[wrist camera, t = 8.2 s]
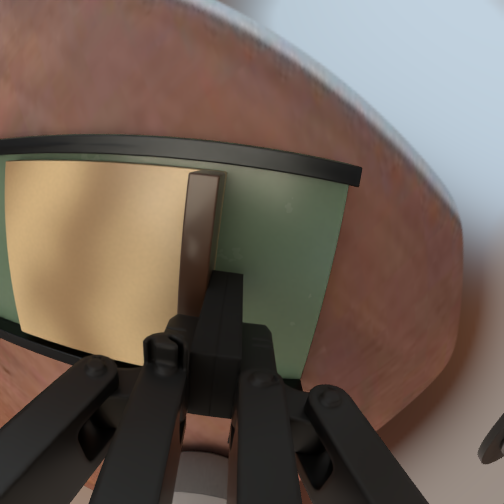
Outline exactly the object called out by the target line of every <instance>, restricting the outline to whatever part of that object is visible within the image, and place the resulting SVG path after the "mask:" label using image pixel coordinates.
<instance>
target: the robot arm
mask: <svg viewBox="0 0 504 504" xmlns="http://www.w3.org/2000/svg"><path fill="white" fill-rule="evenodd" d="M272 341H273V339H272V332H271V331H270V330H269V329H268V327H267V326H266V325H262V324H253V323H245V322H243V274H239V273H232V272H224V271H217V270H212V274H211V277H210V280H209V284H208V287H207V291H206V294H205V298H204V302H203V305H202V309H201V312H200V316H199V317H195V316H188V315H182V314H176V315H175V316H174V317H172V318H171V319H169V322H168V324H167V326H166V328H165V331H164V332H161V333H154V334H152V335H149V336H147V337H146V338H145V339H144V340H143V355H144V364H143V366H140V367H136V368H117V365H116V363H115V362H114V360H112V359H111V358H109V357H107V356H103V355H89V356H85V357H84V358H82V359H80V360H79V361H78V362H76V363H75V364H74V365H73V366H72V367H70V368H69V369H68V370H67V371H66V372H65V373H63V374H62V375H61V376H60V377H59V378H58V379H56V380H55V381H54V382H53V383H52V384H51V385H49V386H48V387H47V388H46V389H45V390H44V391H42V392H41V393H40V394H39V395H38V396H37V397H36V398H34V399H33V400H32V401H31V402H30V403H29V404H27V405H26V406H25V407H24V408H23V409H22V410H21V411H20V412H18V413H17V414H16V415H15V416H14V417H13V418H12V419H11V420H9V421H8V422H7V423H6V424H5V425H4V426H3V427H2V428H0V504H70V502H71V501H72V500H73V498H74V497H75V496H76V495H77V493H78V492H79V491H80V489H81V488H82V487H83V485H84V484H85V483H86V482H87V480H88V479H89V478H90V476H91V475H92V474H93V472H94V471H95V470H96V469H97V467H98V466H99V465H100V463H101V462H102V461H103V459H104V458H105V460H104V462H103V465H102V468H101V470H100V473H99V476H98V479H97V481H96V484H95V487H94V490H93V493H92V496H91V498H90V502H89V504H172V502H173V496H174V489H175V483H176V478H177V472H178V466H179V460H180V455H181V449H182V444H183V438H184V433H185V427H186V414H187V413H191V414H197V415H204V416H211V417H219V418H228V419H231V418H232V422H231V427H230V433H229V438H228V443H229V460H228V484H227V504H302V499H301V492H300V486H299V478H298V474H299V476H300V478H301V480H302V482H303V484H304V486H305V488H306V491H307V492H308V495H309V497H310V499H311V501H312V503H313V504H429V503H428V502H427V501H426V499H425V498H424V496H423V495H422V494H421V492H420V491H419V490H418V488H417V487H416V486H415V484H414V483H413V482H412V481H411V479H410V478H409V476H408V475H407V473H406V472H405V471H404V469H403V468H402V467H401V466H400V464H399V463H398V461H397V460H396V459H395V458H394V456H393V455H392V453H391V452H390V450H389V449H388V448H387V446H386V445H385V444H384V442H383V441H382V440H381V438H380V437H379V436H378V434H377V433H376V431H375V430H374V429H373V427H372V426H371V425H370V423H369V422H368V420H367V419H366V418H365V416H364V415H363V414H362V412H361V411H360V410H359V408H358V407H357V405H356V404H355V403H354V401H353V400H352V399H351V397H350V396H349V395H348V394H347V393H346V392H345V391H344V390H343V389H341V388H339V387H337V386H333V385H318V386H315V387H314V388H313V389H311V390H310V392H309V393H308V392H304V391H300V390H297V389H294V388H291V387H290V386H288V385H286V384H285V383H284V381H283V379H282V377H281V376H280V375H279V374H278V373H277V368H276V361H275V353H274V349H273V347H274V346H273V342H272ZM187 409H188V410H187ZM500 450H501V451H502V453H503V454H504V439H503V441H502V442H501V445H500ZM297 471H298V472H297Z"/></svg>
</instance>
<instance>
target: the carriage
mask: <svg viewBox="0 0 504 504" xmlns="http://www.w3.org/2000/svg"><path fill="white" fill-rule="evenodd" d="M226 178H227V172H225V171H217V170H208V169H200V168H190V167H181V166H170V165H159V164H146V163H132V162H115V161H94V160H11V161H6V167H5V223H6V238H7V250H8V259H9V267H10V274H11V281H12V287H13V293H14V298H15V303H16V308H17V313H18V317H19V322H20V326H21V330H22V331H23V332H25V333H28V334H31V335H34V336H37V337H39V338H42V339H45V340H48V341H51V342H54V343H57V344H60V345H64V346H67V347H70V348H73V349H77V350H80V351H84V352H87V353H91V354H94V355H103V356H107V357H109V358H111V359H114V360H118V361H122V362H126V363H131V364H135V365H140V366H143V364H144V355H143V340H144V339H145V338H146V337H147V336H149V335H152V334H154V333H161V332H164V331H165V328H166V326H167V324H168V322H169V319H171V318H172V317H174V316H175V315H176V314H182V315H188V316H195V317H199V316H200V312H201V309H202V305H203V302H204V298H205V294H206V291H207V287H208V284H209V280H210V277H211V274H212V270H215V264H216V256H217V247H218V239H219V231H220V223H221V215H222V207H223V200H224V192H225V185H226ZM187 410H188V409H187Z"/></svg>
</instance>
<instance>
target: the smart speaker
mask: <svg viewBox="0 0 504 504" xmlns="http://www.w3.org/2000/svg"><path fill="white" fill-rule="evenodd" d="M228 460H229V459H228V458H226V457H224V456H221V455H218V454H215V453H211V452H205V451H182V452H181V455H180V460H179V466H178V472H177V478H176V483H175V489H174V496H173V502H172V504H227V484H228Z"/></svg>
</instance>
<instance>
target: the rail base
mask: <svg viewBox="0 0 504 504" xmlns="http://www.w3.org/2000/svg"><path fill="white" fill-rule="evenodd" d="M11 160H94V161H115V162H132V163H146V164H159V165H170V166H181V167H190V168H200V169H208V170H217V171H225V172H227V178H226V185H225V192H224V200H223V207H222V215H221V223H220V231H219V239H218V247H217V256H216V264H215V270H217V271H224V272H232V273H239V274H243V322H245V323H253V324H262V325H266V326H267V327H268V329H269V330H270V331H271V332H272V339H273V341H272V342H273V346H274V347H273V349H274V353H275V361H276V368H277V373H278V374H279V375H280V376H281V377H282V379H283V381H284V383H285V384H286V385H288V386H290V387H291V388H294V389H297V390H300V391H303V389H302V385H301V381H300V378H301V375H302V372H303V369H304V365H305V362H306V359H307V356H308V352H309V349H310V346H311V342H312V339H313V336H314V332H315V329H316V325H317V321H318V318H319V314H320V311H321V307H322V303H323V299H324V296H325V292H326V288H327V284H328V280H329V276H330V272H331V268H332V263H333V259H334V255H335V250H336V246H337V242H338V237H339V232H340V228H341V223H342V218H343V213H344V208H345V203H346V198H347V193H348V187H349V185H351V186H355V187H359V184H360V178H361V172H362V167H359V166H354V165H351V164H347V163H343V162H339V161H334V160H329V159H325V158H320V157H315V156H310V155H305V154H299V153H294V152H288V151H283V150H277V149H271V148H264V147H258V146H251V145H244V144H236V143H228V142H220V141H211V140H202V139H191V138H179V137H166V136H149V135H125V134H66V135H43V136H28V137H16V138H5V139H0V338H2V339H4V340H6V341H9V342H11V343H13V344H16V345H18V346H21V347H23V348H26V349H28V350H31V351H33V352H36V353H39V354H41V355H44V356H47V357H49V358H52V359H55V360H58V361H61V362H64V363H67V364H70V365H74V364H75V363H76V362H78V361H79V360H80V359H82V358H84V357H85V356H89V355H94V354H91V353H87V352H84V351H80V350H77V349H73V348H70V347H67V346H64V345H60V344H57V343H54V342H51V341H48V340H45V339H42V338H39V337H37V336H34V335H31V334H28V333H25V332H23V331H22V330H21V326H20V322H19V317H18V313H17V308H16V303H15V298H14V293H13V287H12V281H11V274H10V267H9V259H8V250H7V238H6V223H5V167H6V161H11ZM112 360H114V359H112ZM114 362H115V363H116V365H117V368H136V367H140V365H135V364H131V363H126V362H122V361H118V360H114Z"/></svg>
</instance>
